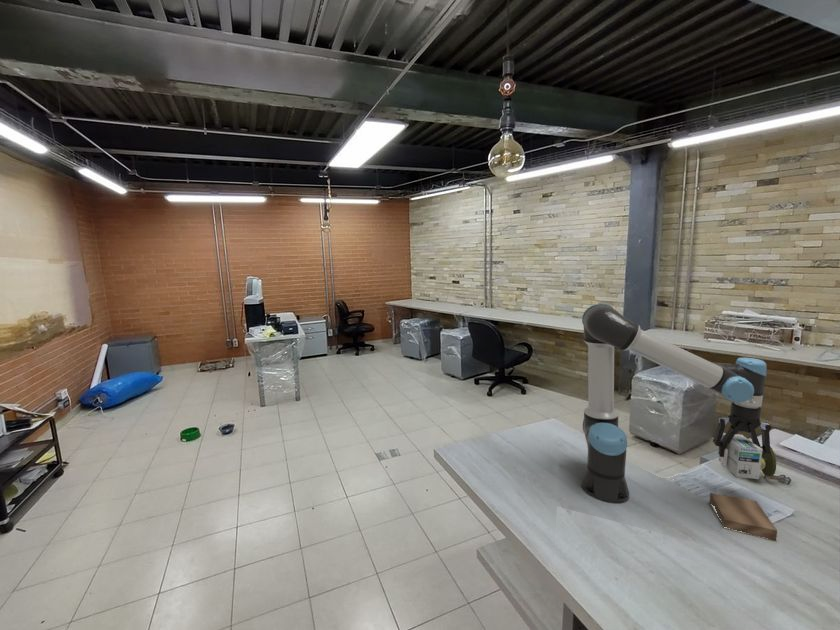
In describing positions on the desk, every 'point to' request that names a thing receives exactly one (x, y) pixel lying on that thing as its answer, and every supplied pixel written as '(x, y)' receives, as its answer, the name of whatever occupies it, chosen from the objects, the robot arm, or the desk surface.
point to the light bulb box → (743, 457)
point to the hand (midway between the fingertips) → (737, 467)
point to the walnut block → (743, 516)
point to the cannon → (768, 463)
